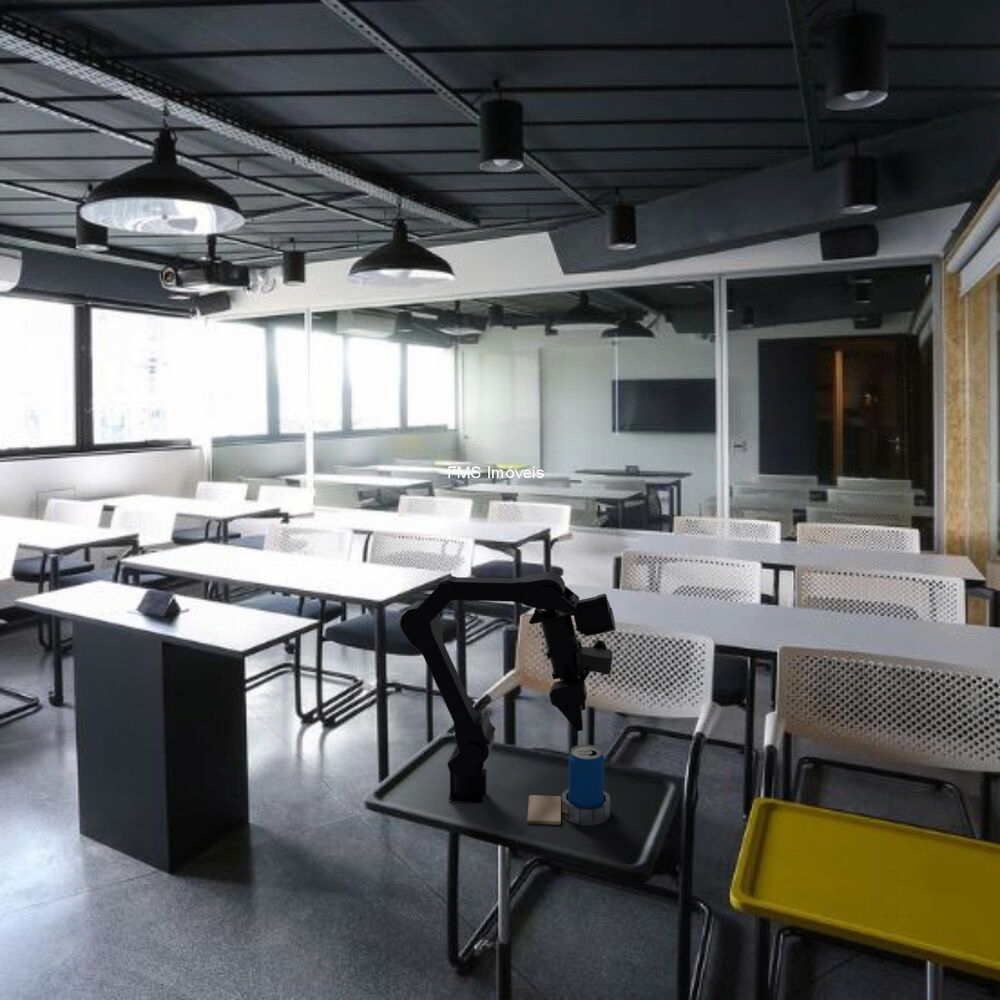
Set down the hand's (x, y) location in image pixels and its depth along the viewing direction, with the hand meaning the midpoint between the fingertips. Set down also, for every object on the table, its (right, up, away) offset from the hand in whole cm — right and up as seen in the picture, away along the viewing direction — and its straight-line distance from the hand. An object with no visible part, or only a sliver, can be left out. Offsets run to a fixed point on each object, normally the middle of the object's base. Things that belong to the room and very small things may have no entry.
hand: (581, 719), depth 153 cm
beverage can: (+1, -17, -1) cm, 17 cm away
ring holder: (+1, -17, -1) cm, 17 cm away
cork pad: (-7, -17, 0) cm, 18 cm away
